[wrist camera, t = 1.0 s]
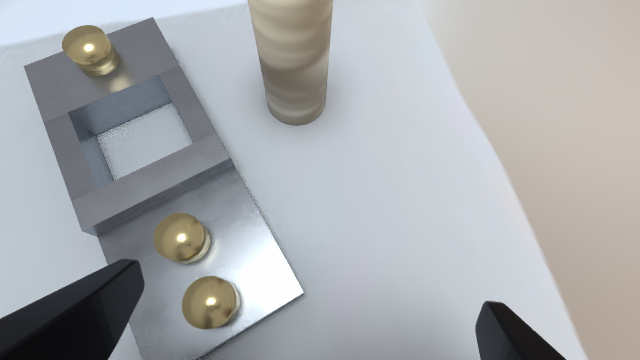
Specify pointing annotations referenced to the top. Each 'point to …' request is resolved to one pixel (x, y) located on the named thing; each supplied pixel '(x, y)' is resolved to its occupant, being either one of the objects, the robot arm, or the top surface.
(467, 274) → the top surface
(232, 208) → the mounting plate
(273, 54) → the pin
